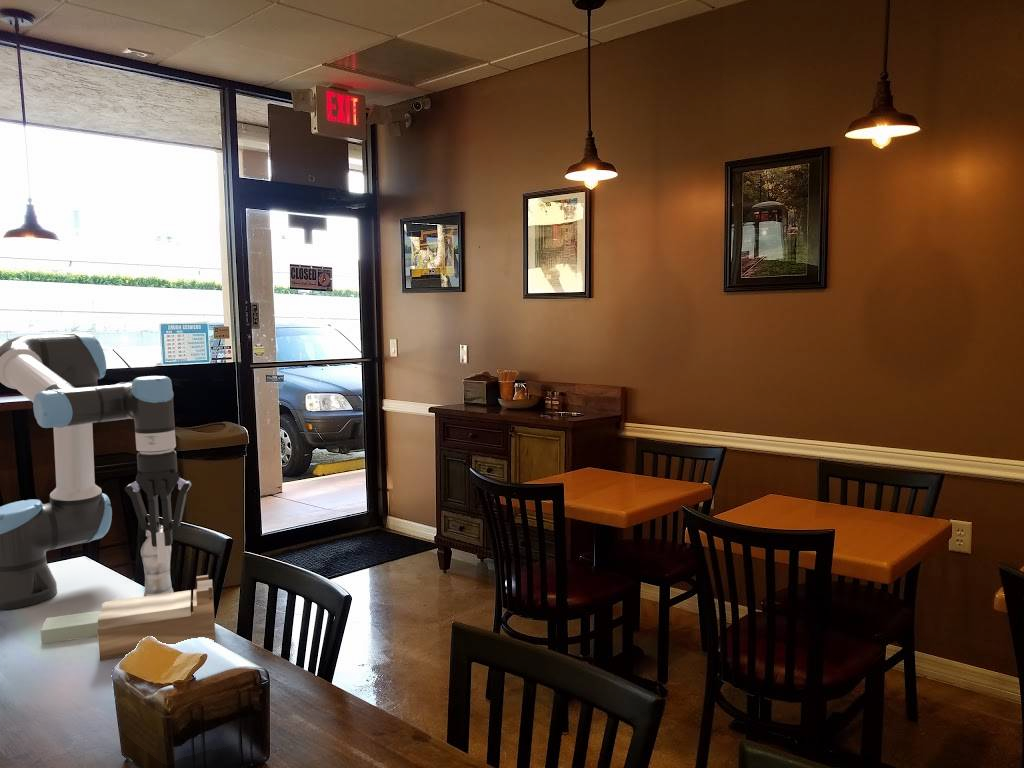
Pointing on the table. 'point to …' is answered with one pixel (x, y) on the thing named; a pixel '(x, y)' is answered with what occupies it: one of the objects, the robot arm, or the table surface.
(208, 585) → the block
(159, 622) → the toolbox
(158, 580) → the plastic bottle
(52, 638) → the block
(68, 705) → the table surface
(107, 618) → the lid
